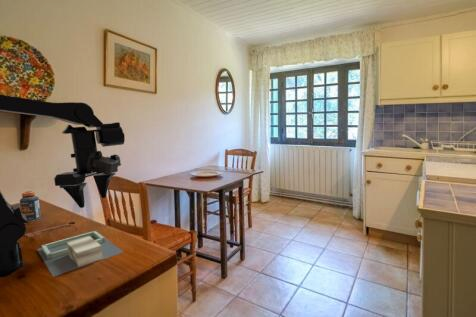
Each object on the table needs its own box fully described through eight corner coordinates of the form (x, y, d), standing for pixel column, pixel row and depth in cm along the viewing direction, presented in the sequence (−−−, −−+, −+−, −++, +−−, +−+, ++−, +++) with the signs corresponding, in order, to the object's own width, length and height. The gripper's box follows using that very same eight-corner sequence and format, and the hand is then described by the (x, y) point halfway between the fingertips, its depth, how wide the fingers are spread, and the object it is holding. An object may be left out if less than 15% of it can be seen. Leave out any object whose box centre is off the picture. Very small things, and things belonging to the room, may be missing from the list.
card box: (102, 258, 69) (101, 245, 68) (78, 267, 65) (76, 253, 65) (90, 247, 76) (89, 235, 76) (68, 254, 72) (66, 242, 72)
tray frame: (105, 241, 80) (105, 238, 80) (48, 259, 70) (47, 255, 70) (95, 234, 86) (95, 230, 86) (41, 249, 76) (41, 245, 76)
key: (26, 240, 87) (78, 227, 97) (25, 238, 87) (78, 225, 97) (24, 234, 91) (75, 222, 101) (24, 232, 91) (74, 220, 101)
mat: (124, 253, 72) (124, 252, 72) (53, 278, 61) (53, 276, 61) (97, 233, 88) (97, 232, 88) (37, 250, 77) (36, 249, 77)
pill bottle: (18, 222, 104) (14, 194, 102) (28, 217, 110) (25, 190, 108) (35, 221, 104) (31, 193, 103) (44, 216, 110) (40, 189, 109)
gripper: (87, 151, 65) (97, 212, 67) (129, 143, 83) (136, 192, 85) (47, 153, 67) (58, 213, 69) (97, 146, 85) (104, 193, 87)
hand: (93, 202), depth 78 cm, fingers open, 9 cm apart
